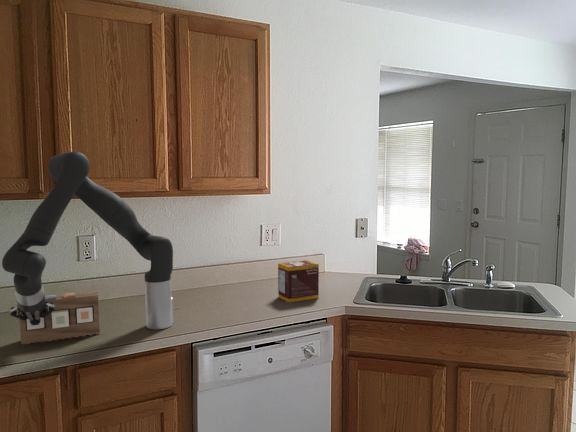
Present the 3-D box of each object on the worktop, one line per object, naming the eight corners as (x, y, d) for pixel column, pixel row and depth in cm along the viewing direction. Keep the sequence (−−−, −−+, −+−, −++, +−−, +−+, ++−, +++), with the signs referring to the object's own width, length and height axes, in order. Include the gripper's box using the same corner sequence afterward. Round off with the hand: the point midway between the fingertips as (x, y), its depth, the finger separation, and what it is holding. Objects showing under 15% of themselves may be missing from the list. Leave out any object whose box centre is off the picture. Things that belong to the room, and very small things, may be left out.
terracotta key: (77, 319, 163) (76, 305, 162) (92, 317, 165) (91, 303, 164) (77, 323, 158) (76, 309, 158) (93, 321, 160) (92, 307, 160)
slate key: (28, 325, 156) (27, 311, 156) (45, 323, 159) (44, 309, 158) (27, 330, 152) (26, 315, 152) (44, 327, 154) (43, 313, 154)
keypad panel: (22, 339, 157) (20, 297, 156) (99, 329, 167) (97, 289, 166) (21, 345, 152) (18, 301, 151) (99, 334, 162) (97, 293, 161)
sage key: (53, 324, 158) (52, 310, 157) (69, 322, 160) (68, 308, 159) (52, 328, 153) (51, 314, 153) (69, 326, 155) (68, 312, 155)
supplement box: (319, 298, 206) (319, 263, 204) (288, 302, 199) (288, 267, 198) (307, 292, 215) (307, 259, 214) (278, 297, 208) (277, 263, 207)
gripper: (54, 281, 145) (57, 309, 157) (5, 286, 140) (12, 315, 152) (54, 302, 141) (58, 329, 153) (4, 308, 135) (11, 336, 147)
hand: (35, 322), depth 152 cm, fingers closed
